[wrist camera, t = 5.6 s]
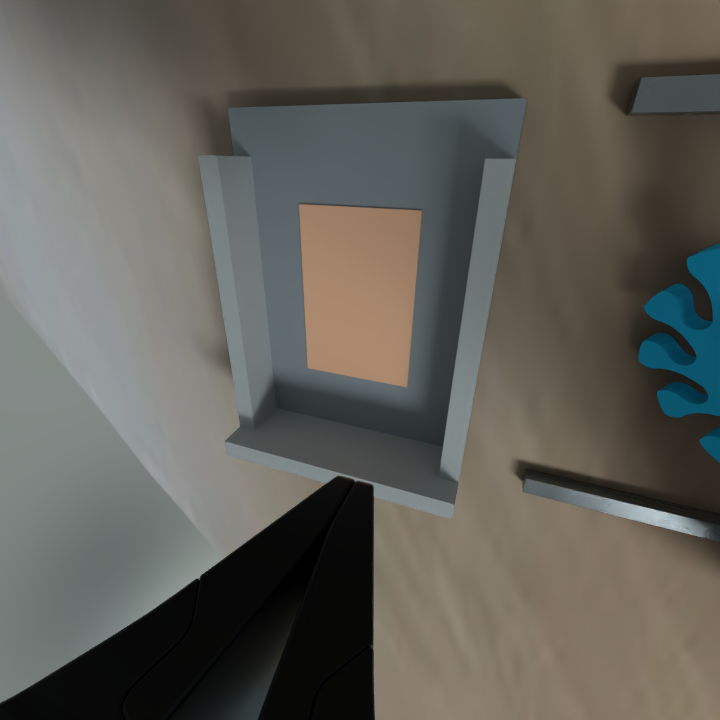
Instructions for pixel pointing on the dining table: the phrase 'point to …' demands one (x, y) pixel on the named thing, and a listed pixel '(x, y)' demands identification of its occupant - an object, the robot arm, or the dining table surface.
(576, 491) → the frame
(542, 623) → the dining table surface
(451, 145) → the grey open tray
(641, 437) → the dining table surface
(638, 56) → the dining table surface
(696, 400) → the gear
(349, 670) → the robot arm
